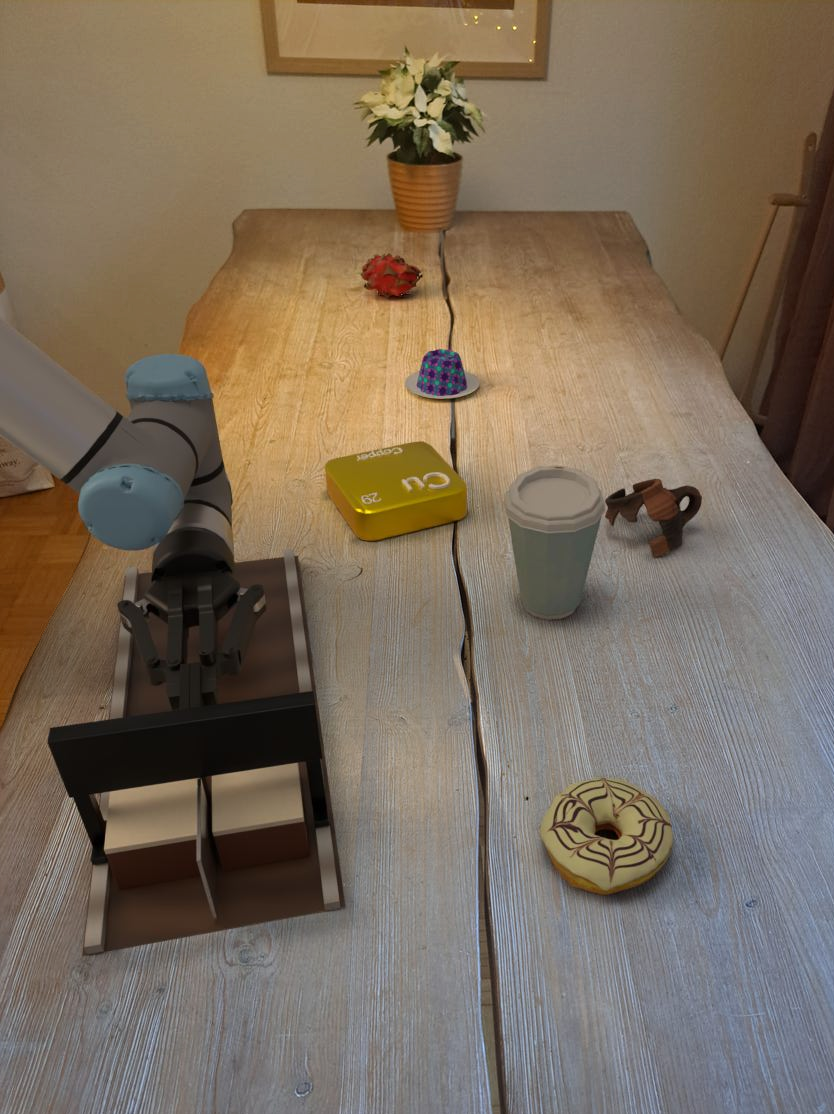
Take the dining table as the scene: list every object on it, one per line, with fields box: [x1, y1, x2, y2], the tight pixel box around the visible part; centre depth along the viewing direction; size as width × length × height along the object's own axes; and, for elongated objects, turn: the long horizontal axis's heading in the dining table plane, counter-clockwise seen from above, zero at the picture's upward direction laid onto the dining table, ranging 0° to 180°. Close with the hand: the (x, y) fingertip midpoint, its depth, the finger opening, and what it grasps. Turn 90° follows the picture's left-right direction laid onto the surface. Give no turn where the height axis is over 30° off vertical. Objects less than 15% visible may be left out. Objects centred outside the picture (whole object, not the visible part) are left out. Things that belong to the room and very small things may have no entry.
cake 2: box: [212, 763, 310, 871], centre depth 78 cm, size 9×7×5 cm
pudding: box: [404, 348, 481, 400], centre depth 149 cm, size 12×12×5 cm
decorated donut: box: [539, 777, 674, 896], centre depth 78 cm, size 10×11×4 cm
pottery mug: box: [604, 478, 703, 558], centre depth 116 cm, size 12×10×8 cm
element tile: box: [324, 440, 468, 542], centre depth 121 cm, size 15×15×5 cm
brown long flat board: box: [81, 548, 346, 957], centre depth 90 cm, size 50×20×2 cm, turn 13°
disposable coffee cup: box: [502, 465, 606, 621], centre depth 101 cm, size 11×11×15 cm
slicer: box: [47, 691, 330, 922], centre depth 71 cm, size 11×19×14 cm, turn 103°
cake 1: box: [104, 777, 209, 889], centre depth 77 cm, size 9×7×5 cm
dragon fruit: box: [360, 252, 423, 299], centre depth 181 cm, size 8×8×12 cm
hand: (192, 729), depth 72 cm, fingers closed
